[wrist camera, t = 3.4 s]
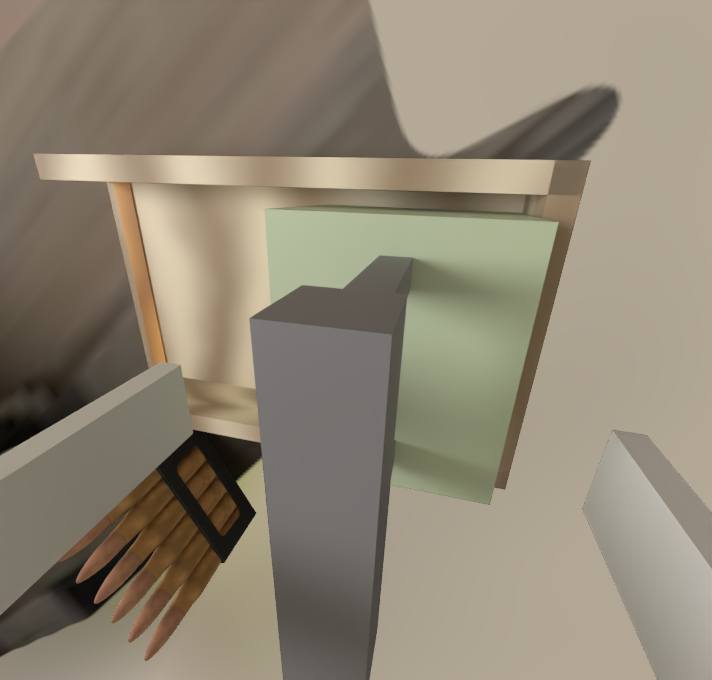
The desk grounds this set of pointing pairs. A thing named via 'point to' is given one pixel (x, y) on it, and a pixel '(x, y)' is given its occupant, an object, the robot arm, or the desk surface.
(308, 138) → the desk surface
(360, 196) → the bay
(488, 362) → the green panel with handle
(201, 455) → the ammunition clip
